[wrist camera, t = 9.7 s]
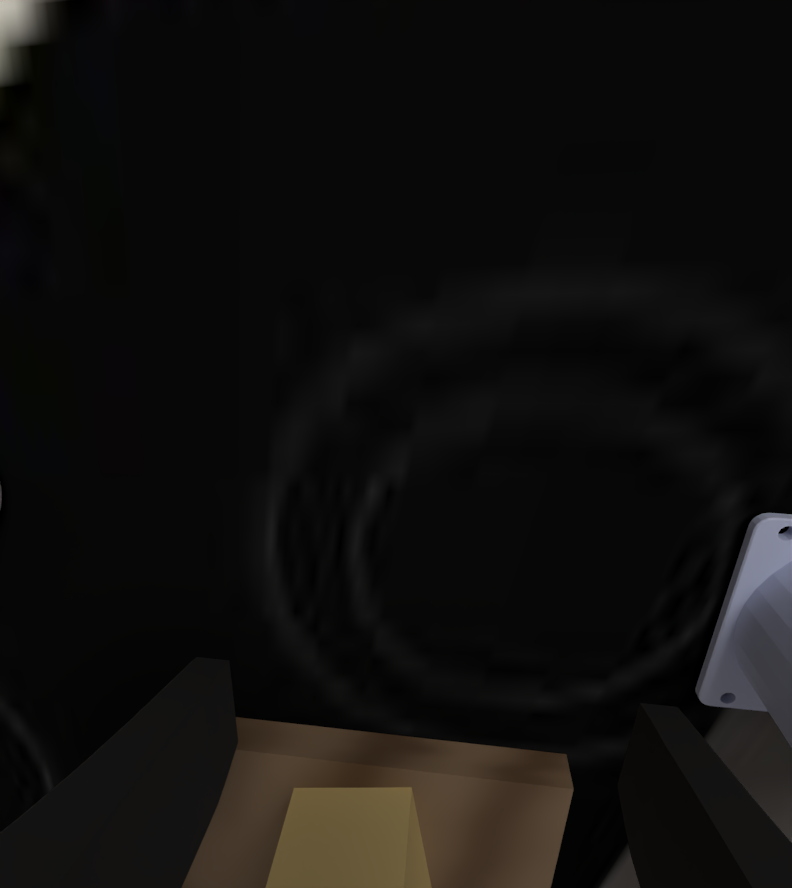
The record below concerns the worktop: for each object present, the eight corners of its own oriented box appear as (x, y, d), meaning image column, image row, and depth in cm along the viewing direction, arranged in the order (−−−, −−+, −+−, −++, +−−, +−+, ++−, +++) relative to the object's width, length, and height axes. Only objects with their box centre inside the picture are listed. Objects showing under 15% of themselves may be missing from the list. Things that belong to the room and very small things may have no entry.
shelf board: (566, 754, 22) (573, 789, 21) (529, 922, 27) (533, 960, 26) (151, 707, 24) (132, 737, 22) (183, 874, 28) (169, 908, 27)
